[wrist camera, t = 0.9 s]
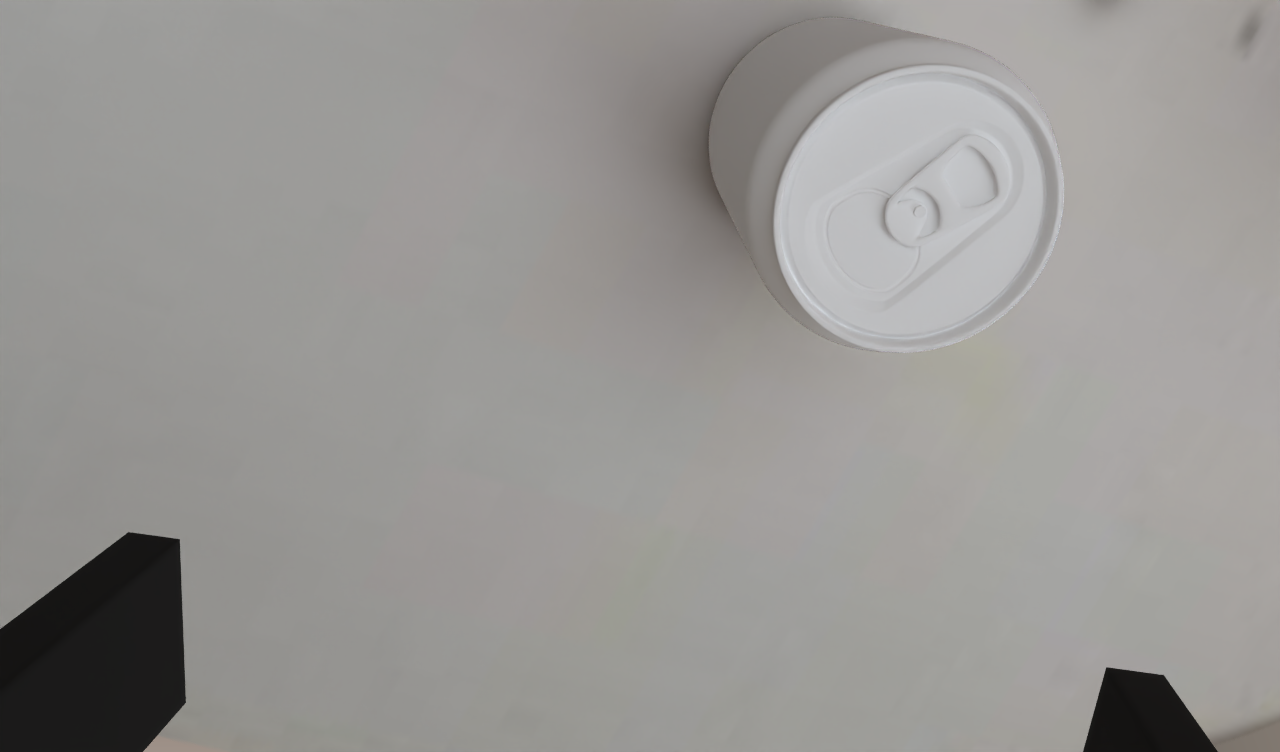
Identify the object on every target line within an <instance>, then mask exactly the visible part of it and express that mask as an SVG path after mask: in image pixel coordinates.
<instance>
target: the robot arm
mask: <svg viewBox="0 0 1280 752" xmlns="http://www.w3.org/2000/svg"><path fill="white" fill-rule="evenodd" d="M185 703H186V696H185V670H184V643H183V616H182V590H181V563H180V539H174V538H166V537H159V536H152V535H145V534H137V533H130V532H128V533H127V534H126V535H124V536H123V537H122V538H120V539H119V540H118V541H116V542H115V543H114V544H112V545H111V546H110V547H108V548H107V549H106V550H104V551H103V552H102V553H100V554H99V555H98V556H96V557H95V558H94V559H92V560H91V561H90V562H89V563H87V564H86V565H85V566H83V567H82V568H81V569H79V570H78V571H77V572H75V573H74V574H73V575H71V576H70V577H69V578H67V579H66V580H65V581H63V582H62V583H61V584H59V585H58V586H57V587H55V588H54V589H53V590H52V591H50V592H49V593H48V594H46V595H45V596H44V597H42V598H41V599H40V600H38V601H37V602H36V603H34V604H33V605H32V606H30V607H29V608H28V609H26V610H25V611H24V612H22V613H21V614H20V615H18V616H17V617H16V618H14V619H13V620H12V621H11V622H9V623H8V624H7V625H5V626H4V627H3V628H1V629H0V752H143V751H144V750H145V749H146V748H147V746H148V745H149V744H150V743H151V742H152V741H153V739H154V738H155V737H156V736H157V735H158V734H159V733H160V732H161V730H162V729H163V728H164V727H165V726H166V725H167V724H168V722H169V721H170V720H171V719H172V718H173V717H174V716H175V714H176V713H177V712H178V711H179V710H180V709H181V708H182V706H183V705H184V704H185ZM1083 752H1217V750H1216V749H1215V747H1214V746H1213V744H1212V743H1211V742H1210V740H1209V739H1208V737H1207V736H1206V734H1205V733H1204V732H1203V730H1202V729H1201V727H1200V726H1199V725H1198V723H1197V722H1196V720H1195V719H1194V717H1193V716H1192V715H1191V713H1190V712H1189V710H1188V709H1187V708H1186V706H1185V705H1184V703H1183V702H1182V700H1181V699H1180V698H1179V696H1178V695H1177V693H1176V692H1175V691H1174V689H1173V688H1172V686H1171V685H1170V684H1169V682H1168V681H1167V679H1166V678H1165V676H1164V675H1158V674H1151V673H1143V672H1136V671H1129V670H1122V669H1115V668H1107V667H1106V671H1105V674H1104V678H1103V682H1102V685H1101V689H1100V692H1099V696H1098V700H1097V703H1096V707H1095V711H1094V714H1093V718H1092V721H1091V725H1090V729H1089V732H1088V736H1087V740H1086V743H1085V747H1084V751H1083Z"/></svg>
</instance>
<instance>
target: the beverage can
mask: <svg viewBox="0 0 1280 752" xmlns="http://www.w3.org/2000/svg"><path fill="white" fill-rule="evenodd" d="M709 159H710V166H711V170H712V175H713V178H714V181H715V184H716V187H717V189H718V192H719V194H720V196H721V198H722V200H723V202H724V204H725V206H726V208H727V210H728V212H729V214H730V216H731V218H732V220H733V222H734V224H735V226H736V228H737V230H738V232H739V234H740V236H741V238H742V240H743V242H744V244H745V246H746V249H747V251H748V253H749V255H750V257H751V259H752V261H753V263H754V265H755V267H756V269H757V271H758V273H759V275H760V276H761V278H762V280H763V282H764V284H765V285H766V287H767V288H768V290H769V291H770V293H771V294H772V296H773V297H774V298H775V300H776V301H777V302H778V303H779V304H780V305H781V307H782V308H783V309H784V310H785V311H786V312H787V313H788V314H789V315H791V316H792V317H793V318H794V319H795V320H797V321H798V322H799V323H800V324H802V325H803V326H805V327H806V328H808V329H809V330H811V331H812V332H814V333H816V334H818V335H820V336H822V337H824V338H826V339H828V340H830V341H833V342H835V343H838V344H841V345H844V346H848V347H851V348H856V349H861V350H867V351H876V352H893V353H911V352H922V351H928V350H933V349H938V348H942V347H945V346H948V345H951V344H954V343H957V342H960V341H962V340H964V339H967V338H969V337H971V336H973V335H975V334H977V333H978V332H980V331H982V330H984V329H985V328H987V327H988V326H990V325H991V324H993V323H994V322H996V321H997V320H998V319H1000V318H1001V317H1002V316H1004V315H1005V314H1006V313H1007V312H1008V311H1009V310H1011V309H1012V308H1013V307H1014V306H1015V305H1016V304H1017V303H1018V302H1019V301H1020V300H1021V298H1022V297H1023V296H1024V295H1025V294H1026V293H1027V292H1028V290H1029V289H1030V288H1031V286H1032V285H1033V284H1034V282H1035V281H1036V279H1037V278H1038V277H1039V275H1040V273H1041V272H1042V270H1043V268H1044V266H1045V265H1046V263H1047V261H1048V259H1049V257H1050V254H1051V252H1052V250H1053V247H1054V245H1055V242H1056V239H1057V236H1058V232H1059V229H1060V225H1061V220H1062V214H1063V205H1064V180H1063V172H1062V166H1061V161H1060V156H1059V151H1058V146H1057V142H1056V139H1055V135H1054V132H1053V129H1052V127H1051V124H1050V122H1049V120H1048V117H1047V115H1046V113H1045V111H1044V110H1043V108H1042V106H1041V104H1040V103H1039V101H1038V100H1037V98H1036V97H1035V95H1034V94H1033V93H1032V91H1031V90H1030V89H1029V88H1028V87H1027V85H1026V84H1025V83H1024V82H1023V81H1022V80H1021V79H1020V78H1019V77H1018V76H1017V75H1016V74H1015V73H1014V72H1012V71H1011V70H1010V69H1009V68H1008V67H1006V66H1005V65H1004V64H1002V63H1001V62H999V61H998V60H996V59H995V58H993V57H991V56H989V55H988V54H986V53H984V52H982V51H979V50H977V49H975V48H972V47H970V46H967V45H964V44H960V43H957V42H953V41H949V40H945V39H940V38H936V37H931V36H927V35H923V34H918V33H914V32H909V31H905V30H901V29H896V28H892V27H887V26H883V25H879V24H874V23H870V22H865V21H861V20H856V19H850V18H839V17H828V18H817V19H812V20H807V21H803V22H799V23H796V24H793V25H791V26H788V27H786V28H784V29H782V30H780V31H778V32H776V33H774V34H772V35H771V36H769V37H767V38H766V39H765V40H763V41H762V42H760V43H759V44H758V45H757V46H755V47H754V48H753V49H752V50H751V51H750V52H749V53H748V54H747V55H746V56H745V57H744V58H743V59H742V60H741V61H740V62H739V63H738V65H737V66H736V67H735V68H734V70H733V71H732V73H731V74H730V76H729V77H728V79H727V80H726V82H725V84H724V86H723V88H722V90H721V92H720V94H719V96H718V99H717V101H716V104H715V107H714V110H713V114H712V118H711V123H710V130H709Z"/></svg>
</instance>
